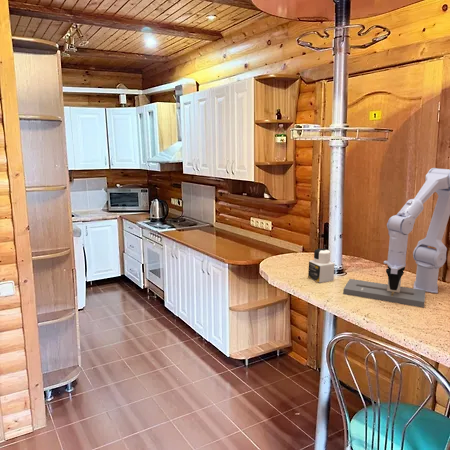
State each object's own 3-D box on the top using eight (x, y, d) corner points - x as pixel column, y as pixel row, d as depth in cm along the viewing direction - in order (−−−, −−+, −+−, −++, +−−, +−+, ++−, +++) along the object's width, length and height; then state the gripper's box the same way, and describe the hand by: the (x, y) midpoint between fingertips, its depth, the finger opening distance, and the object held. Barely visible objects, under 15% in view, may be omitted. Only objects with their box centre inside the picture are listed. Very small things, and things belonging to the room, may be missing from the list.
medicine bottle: (307, 277, 164) (309, 248, 161) (322, 275, 167) (324, 246, 164) (318, 283, 157) (320, 253, 155) (333, 280, 160) (335, 251, 158)
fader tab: (387, 288, 147) (389, 274, 146) (400, 289, 145) (401, 276, 144) (387, 290, 144) (388, 277, 143) (399, 292, 142) (400, 278, 141)
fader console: (349, 283, 157) (349, 278, 157) (424, 295, 146) (425, 289, 145) (343, 294, 147) (343, 288, 146) (424, 307, 135) (424, 301, 135)
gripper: (387, 244, 150) (384, 279, 152) (382, 253, 137) (379, 292, 140) (408, 246, 146) (404, 283, 149) (405, 256, 134) (401, 296, 137)
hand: (393, 287), depth 144 cm, fingers closed on fader tab, 3 cm apart
